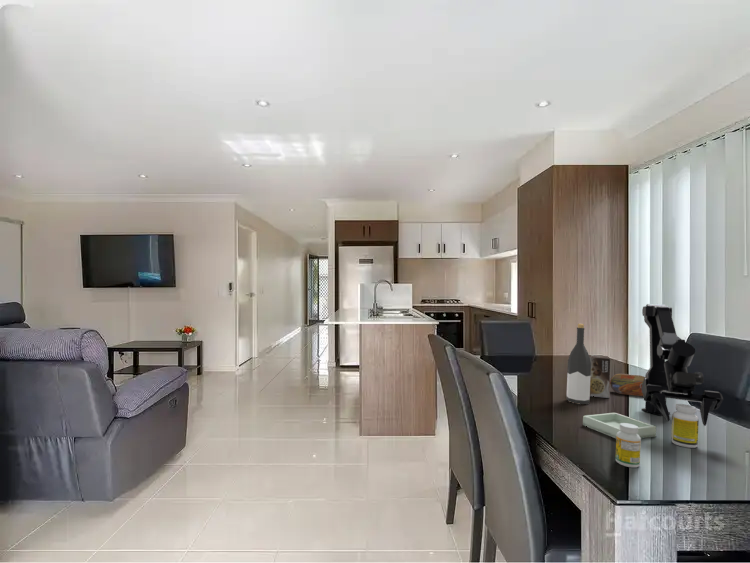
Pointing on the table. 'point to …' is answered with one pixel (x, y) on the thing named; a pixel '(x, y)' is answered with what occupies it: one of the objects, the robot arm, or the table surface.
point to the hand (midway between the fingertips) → (686, 422)
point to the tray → (617, 424)
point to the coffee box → (600, 376)
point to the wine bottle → (579, 371)
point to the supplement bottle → (628, 445)
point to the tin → (627, 384)
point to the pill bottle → (685, 426)
